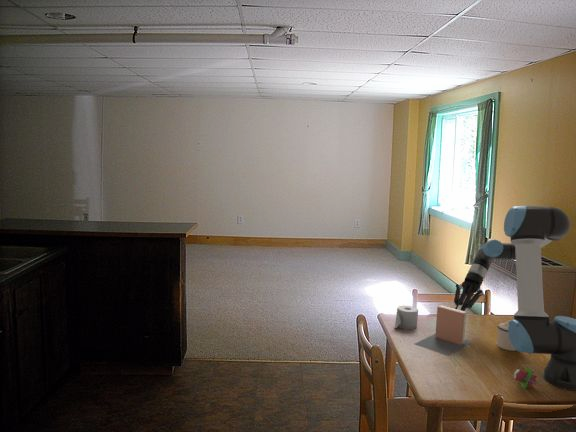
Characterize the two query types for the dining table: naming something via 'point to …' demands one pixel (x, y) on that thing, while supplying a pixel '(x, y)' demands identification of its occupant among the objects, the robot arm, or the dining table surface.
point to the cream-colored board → (450, 324)
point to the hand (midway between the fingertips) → (455, 318)
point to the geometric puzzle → (525, 377)
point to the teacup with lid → (504, 337)
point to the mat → (441, 345)
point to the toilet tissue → (406, 317)
